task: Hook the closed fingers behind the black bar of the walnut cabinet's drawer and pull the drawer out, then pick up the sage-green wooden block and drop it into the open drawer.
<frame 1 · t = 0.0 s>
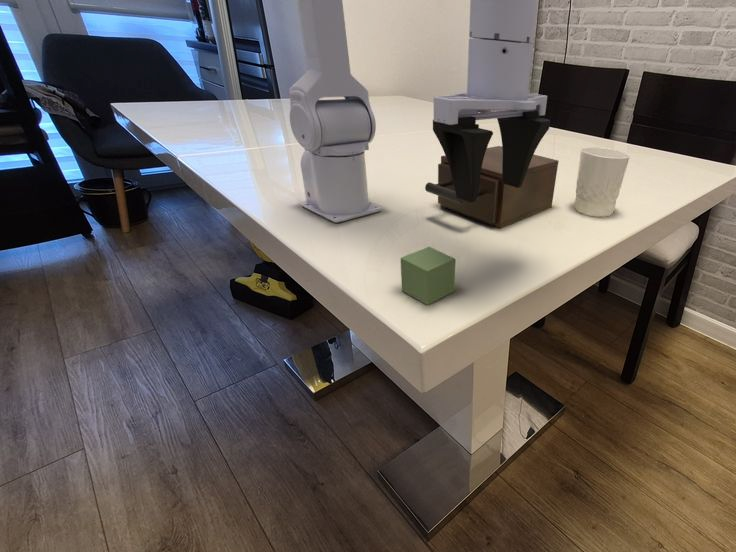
hand: (490, 191, 42), 10 cm above the table, tool pointing down, fingers open, 7 cm apart
block: (428, 291, 43), on the table
white cup: (593, 211, 71), on the table
cabinet: (497, 206, 68), on the table
drawer: (483, 187, 64), point 4 cm above the table, slide at 0.0 cm, touching cabinet
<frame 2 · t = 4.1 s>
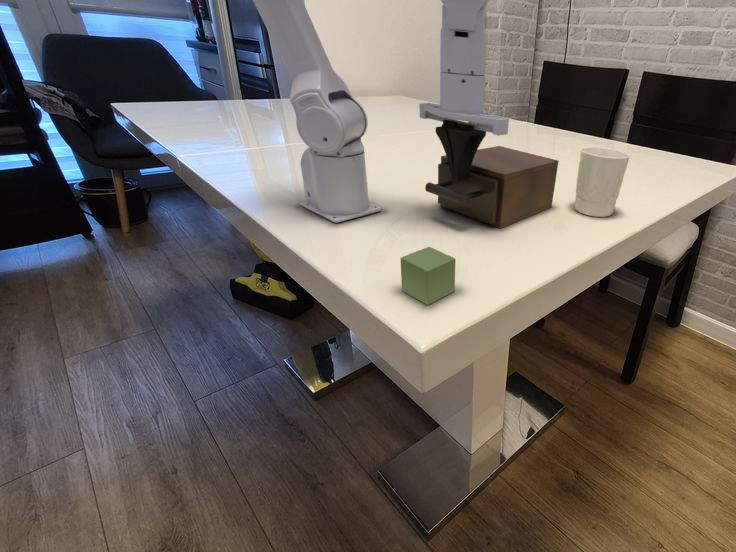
hand: (459, 178, 58), 6 cm above the table, tool pointing down, fingers closed, pressing on drawer
drawer: (483, 187, 64), point 4 cm above the table, slide at 0.0 cm, touching cabinet, gripper
everything else where it was.
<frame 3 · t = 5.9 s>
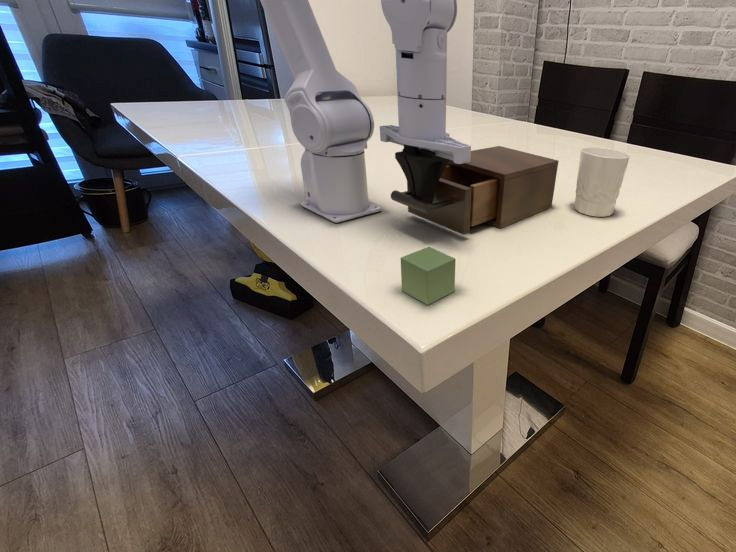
hand: (423, 205, 55), 4 cm above the table, tool pointing down, fingers closed, pressing on drawer
drawer: (456, 195, 59), point 4 cm above the table, slide at 6.2 cm, touching gripper
everything else where it was.
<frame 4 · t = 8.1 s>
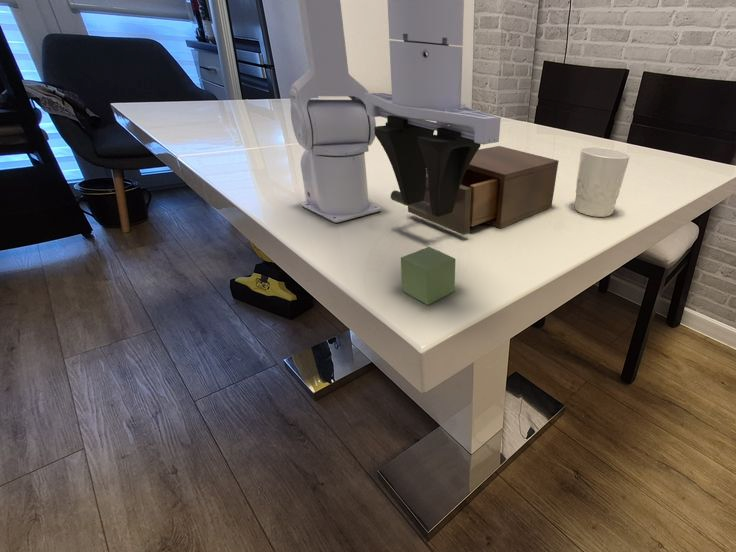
hand: (427, 207, 39), 9 cm above the table, tool pointing down, fingers open, 3 cm apart
drawer: (456, 195, 59), point 4 cm above the table, slide at 6.2 cm
everything else where it was.
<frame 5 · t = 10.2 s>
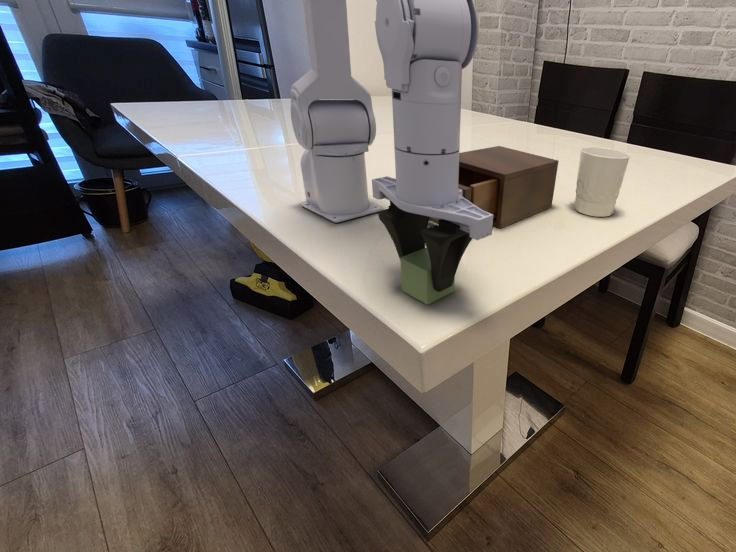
hand: (428, 279, 43), 1 cm above the table, tool pointing down, fingers closed on block, 4 cm apart
block: (428, 291, 43), on the table, touching gripper
everything else where it was.
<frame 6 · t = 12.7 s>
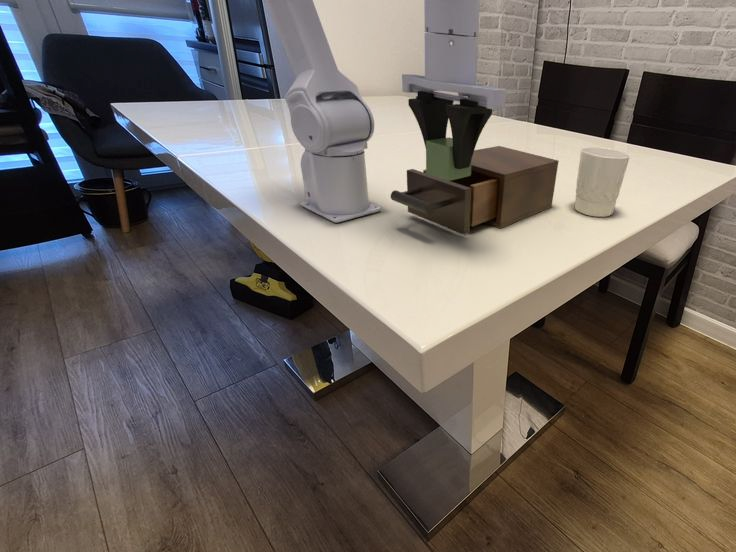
hand: (449, 163, 50), 10 cm above the table, tool pointing down, fingers closed on block, 4 cm apart
block: (448, 174, 51), point 9 cm above the table, touching gripper
everything else where it was.
when the fingers open (5 cm above the table, at t = 15.8 s): block stays where it is, resting on drawer.
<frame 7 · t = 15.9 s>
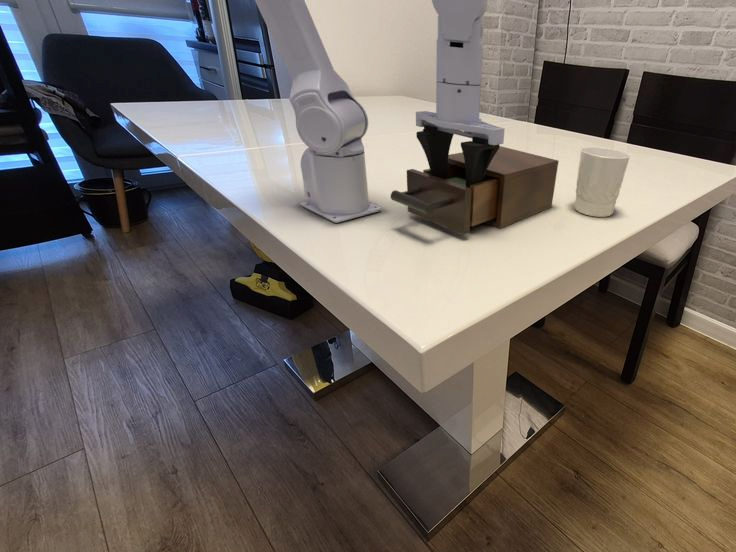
hand: (455, 186, 58), 5 cm above the table, tool pointing down, fingers open, 6 cm apart
block: (455, 209, 60), point 2 cm above the table, touching drawer
drawer: (456, 195, 59), point 4 cm above the table, slide at 6.2 cm, touching block
everything else where it was.
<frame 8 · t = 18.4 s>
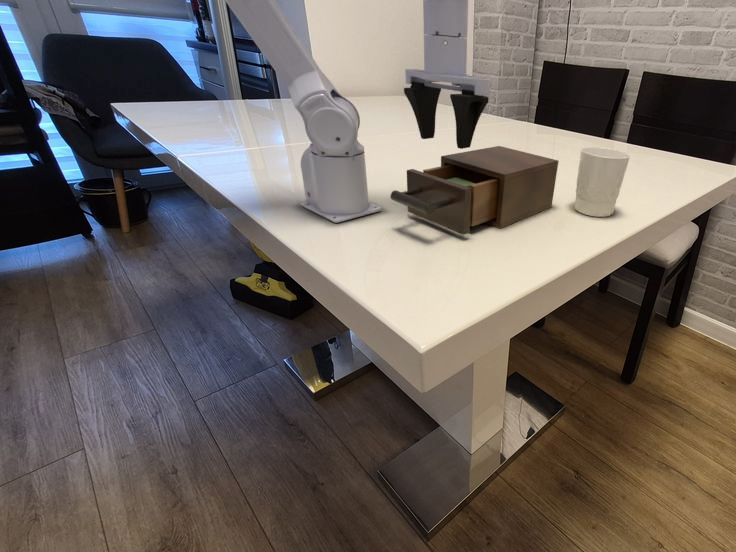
hand: (445, 142, 60), 10 cm above the table, tool pointing down, fingers open, 7 cm apart
nothing on the table moved.
at the end: drawer slide at 6.2 cm; block inside the target area in the drawer (4.4 cm from its centre), point 2.0 cm above the cabinet's base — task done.
